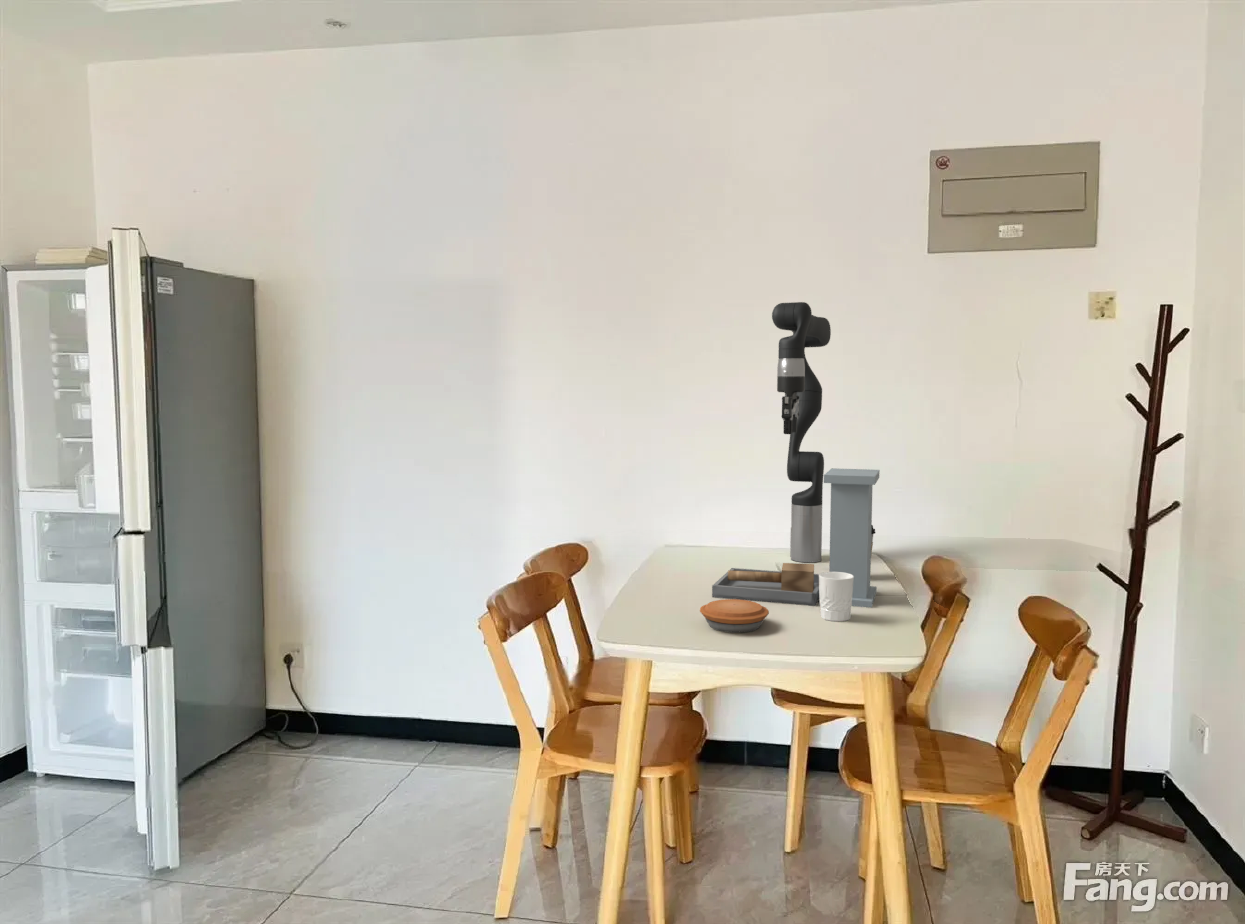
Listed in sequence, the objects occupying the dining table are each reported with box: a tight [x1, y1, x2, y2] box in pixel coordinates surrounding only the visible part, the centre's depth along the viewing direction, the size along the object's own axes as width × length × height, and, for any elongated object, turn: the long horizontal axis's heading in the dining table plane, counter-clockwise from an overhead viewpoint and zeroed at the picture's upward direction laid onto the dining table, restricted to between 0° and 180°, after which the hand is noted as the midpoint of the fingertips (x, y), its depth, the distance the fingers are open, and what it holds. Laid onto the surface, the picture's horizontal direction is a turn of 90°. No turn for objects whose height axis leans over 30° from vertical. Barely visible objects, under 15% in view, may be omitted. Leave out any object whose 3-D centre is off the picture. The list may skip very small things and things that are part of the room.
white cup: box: [818, 571, 854, 622], centre depth 202 cm, size 8×8×10 cm
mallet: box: [727, 562, 815, 593], centre depth 227 cm, size 22×9×6 cm, turn 77°
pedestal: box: [823, 467, 880, 608], centre depth 219 cm, size 12×16×32 cm
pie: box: [699, 598, 770, 633], centre depth 196 cm, size 15×16×5 cm
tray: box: [711, 567, 820, 607], centre depth 227 cm, size 26×22×3 cm
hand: (790, 433), depth 243 cm, fingers open, 8 cm apart
